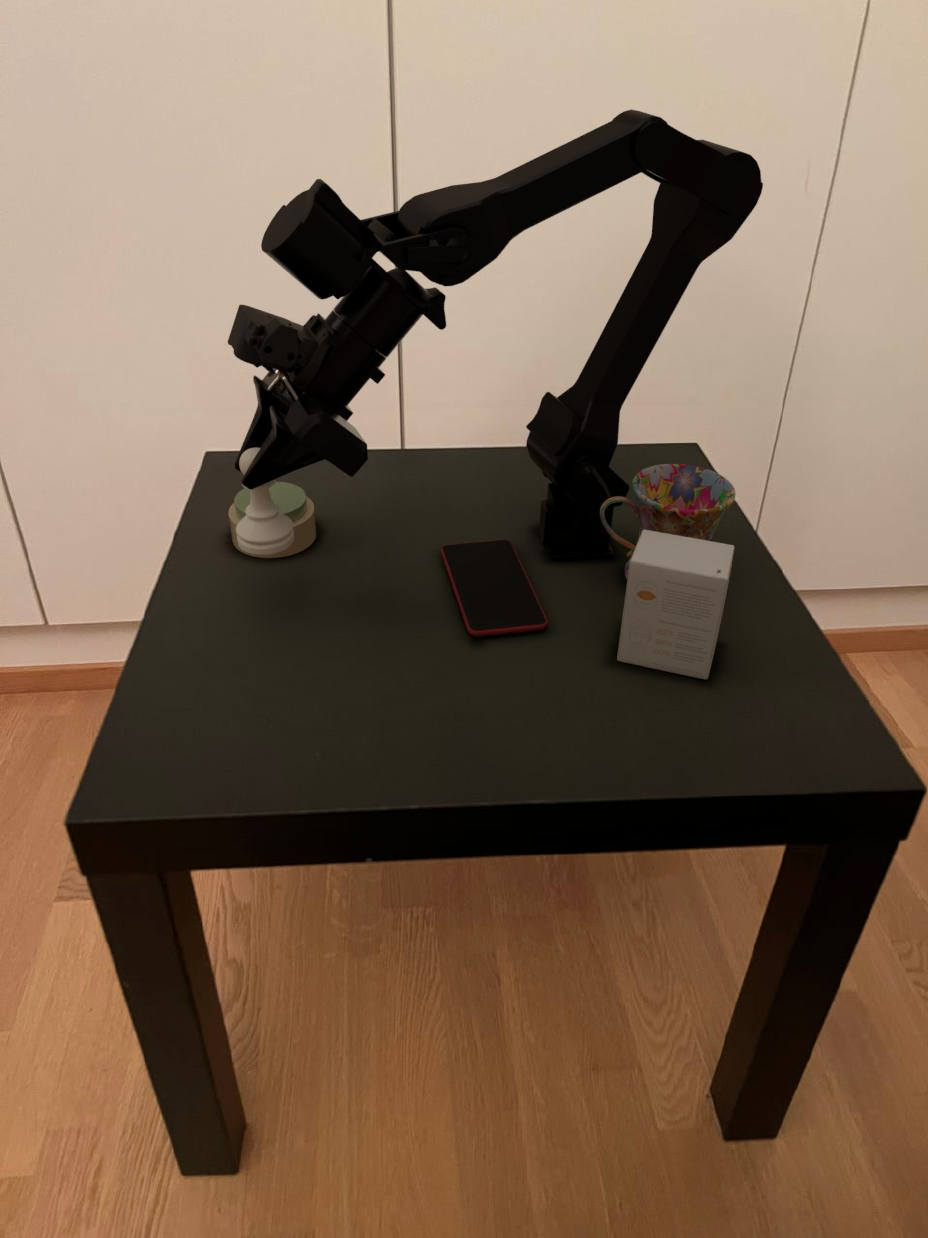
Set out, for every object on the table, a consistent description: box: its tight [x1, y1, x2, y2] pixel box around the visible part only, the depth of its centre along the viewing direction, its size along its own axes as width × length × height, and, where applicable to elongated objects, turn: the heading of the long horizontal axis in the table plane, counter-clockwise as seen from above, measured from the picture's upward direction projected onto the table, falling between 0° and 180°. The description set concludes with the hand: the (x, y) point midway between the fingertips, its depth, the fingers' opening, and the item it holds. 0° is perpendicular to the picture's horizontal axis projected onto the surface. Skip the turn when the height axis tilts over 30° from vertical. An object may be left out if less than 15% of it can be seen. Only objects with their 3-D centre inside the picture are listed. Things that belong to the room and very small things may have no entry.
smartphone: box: [440, 539, 548, 638], centre depth 91 cm, size 7×1×15 cm
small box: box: [616, 530, 735, 681], centre depth 80 cm, size 8×6×10 cm
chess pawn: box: [236, 448, 295, 555], centre depth 82 cm, size 5×5×9 cm
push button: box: [228, 481, 317, 559], centre depth 97 cm, size 9×9×4 cm
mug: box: [600, 463, 736, 581], centre depth 90 cm, size 12×9×11 cm
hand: (241, 477), depth 80 cm, fingers closed on chess pawn, 3 cm apart
